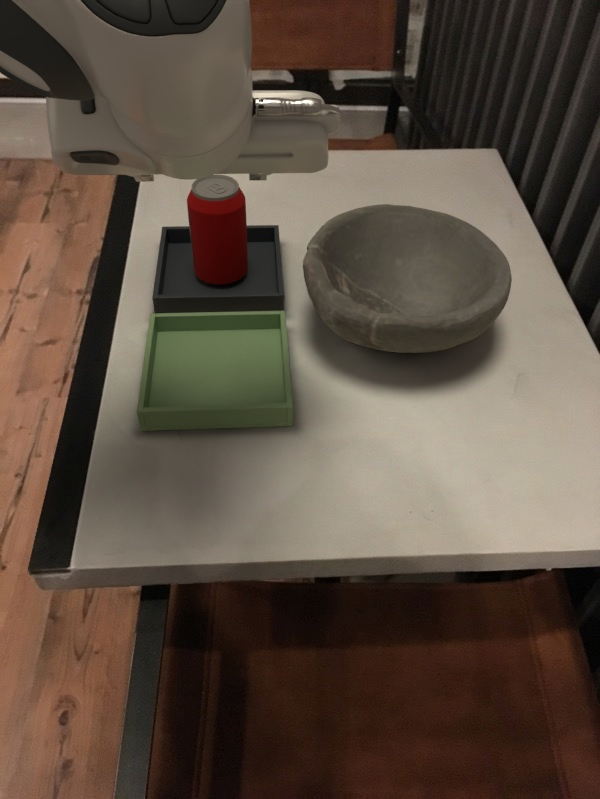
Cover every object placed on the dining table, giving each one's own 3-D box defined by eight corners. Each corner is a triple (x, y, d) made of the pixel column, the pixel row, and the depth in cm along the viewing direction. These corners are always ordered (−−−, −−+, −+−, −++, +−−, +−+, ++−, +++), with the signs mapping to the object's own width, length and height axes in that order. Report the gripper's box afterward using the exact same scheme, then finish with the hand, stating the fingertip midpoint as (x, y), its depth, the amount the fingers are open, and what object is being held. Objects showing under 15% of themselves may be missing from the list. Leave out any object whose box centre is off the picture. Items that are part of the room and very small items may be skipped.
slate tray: (155, 316, 81) (152, 297, 79) (164, 244, 91) (162, 226, 89) (283, 314, 82) (284, 295, 80) (278, 243, 92) (278, 224, 90)
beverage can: (224, 252, 89) (219, 165, 81) (259, 274, 86) (257, 186, 78) (183, 272, 86) (173, 184, 77) (218, 296, 83) (211, 207, 74)
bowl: (494, 408, 72) (518, 335, 64) (284, 375, 74) (284, 301, 67) (495, 281, 87) (514, 211, 80) (321, 257, 90) (325, 187, 83)
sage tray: (140, 431, 68) (136, 411, 66) (153, 332, 79) (150, 313, 77) (292, 426, 69) (292, 407, 67) (285, 329, 80) (285, 310, 78)
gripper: (343, 54, 45) (323, 133, 58) (22, 53, 43) (79, 134, 57) (346, 151, 45) (325, 207, 58) (26, 154, 43) (81, 210, 57)
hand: (201, 171), depth 58 cm, fingers open, 8 cm apart
